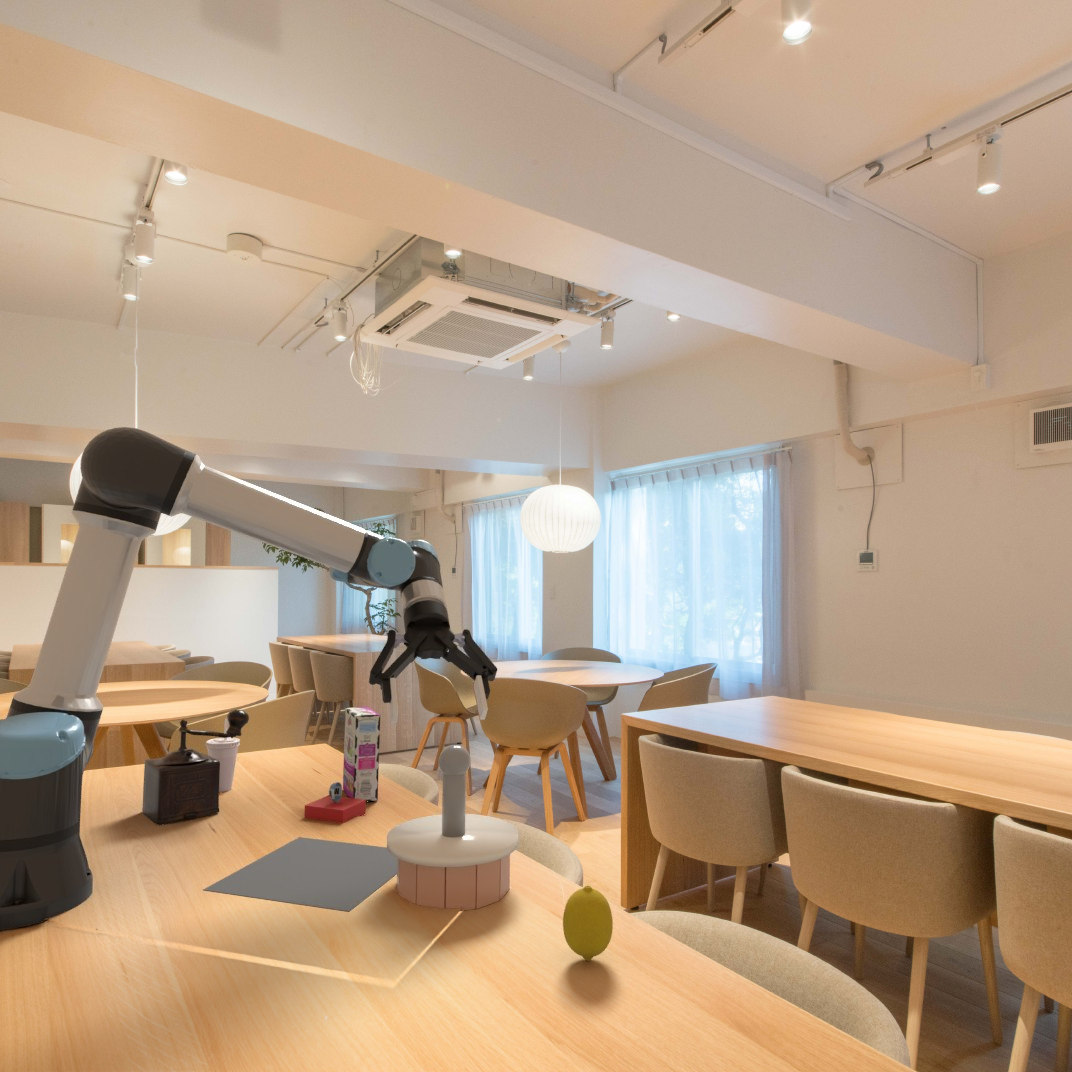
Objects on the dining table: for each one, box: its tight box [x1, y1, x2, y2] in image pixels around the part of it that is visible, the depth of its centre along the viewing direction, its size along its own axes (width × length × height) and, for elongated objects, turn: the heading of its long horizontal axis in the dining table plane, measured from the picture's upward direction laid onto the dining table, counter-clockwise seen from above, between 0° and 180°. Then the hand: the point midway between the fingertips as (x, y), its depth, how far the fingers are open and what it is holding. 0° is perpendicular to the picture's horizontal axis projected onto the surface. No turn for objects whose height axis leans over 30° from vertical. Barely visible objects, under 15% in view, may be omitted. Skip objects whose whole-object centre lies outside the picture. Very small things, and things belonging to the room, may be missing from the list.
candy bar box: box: [342, 706, 381, 803], centre depth 148 cm, size 11×5×16 cm, turn 25°
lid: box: [386, 744, 520, 867], centre depth 104 cm, size 18×18×13 cm
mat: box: [202, 836, 397, 913], centre depth 108 cm, size 22×22×1 cm
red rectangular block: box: [304, 781, 367, 824], centre depth 134 cm, size 8×7×6 cm
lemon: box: [562, 885, 614, 962], centre depth 84 cm, size 6×6×8 cm
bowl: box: [396, 854, 511, 912], centre depth 104 cm, size 15×15×6 cm
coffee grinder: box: [141, 709, 250, 826], centre depth 138 cm, size 16×11×18 cm
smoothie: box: [205, 718, 241, 793], centre depth 152 cm, size 6×6×14 cm
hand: (440, 716), depth 114 cm, fingers open, 13 cm apart
